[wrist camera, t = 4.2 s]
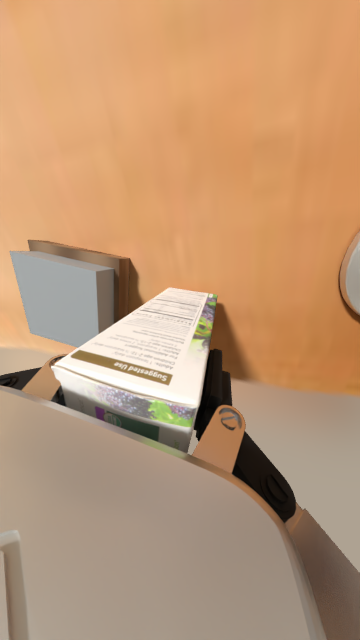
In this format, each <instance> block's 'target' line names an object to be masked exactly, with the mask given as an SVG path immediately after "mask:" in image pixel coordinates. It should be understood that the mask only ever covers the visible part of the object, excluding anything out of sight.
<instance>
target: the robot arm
mask: <svg viewBox="0 0 360 640" xmlns="http://www.w3.org/2000/svg"><path fill="white" fill-rule="evenodd" d="M340 289H341V292H342V295H343V298H344V300H345V301H346V303H347V304H348V306H349V307H350V308H351V309H352V310H353V311H354V312H355V313H357V314H358V315H360V231H359V232H358V233H357V235H356V236H355V238H354V240H353V241H352V243H351V244H350V246H349V248H348V250H347V252H346V254H345V257H344V259H343V262H342V266H341V271H340ZM67 355H68V354H62V355H58V356H55V357H53V358H51V359H50V360H49V361H47V362H46V363H45V365H44V366H43V367H40V368H36V369H30V370H25V371H20V372H15V373H10V374H5V375H1V376H0V640H360V573H359V572H358V571H357V569H356V568H355V567H354V566H353V565H352V564H351V562H350V561H349V560H348V559H347V558H346V556H345V555H344V554H343V553H342V552H341V550H340V549H339V548H338V547H337V546H336V545H335V543H334V542H333V541H332V540H331V539H330V537H329V536H328V535H327V534H326V533H325V531H324V530H323V529H322V528H321V527H320V526H319V524H318V523H317V522H316V521H315V520H314V518H313V517H312V516H311V515H310V514H309V513H308V511H307V510H306V509H304V510H302V509H301V507H300V506H299V505H298V504H297V503H296V500H295V497H294V493H293V491H292V489H291V487H290V485H289V484H288V482H287V481H286V480H285V478H284V477H283V476H282V475H281V473H280V472H279V471H278V470H277V469H276V467H275V466H274V465H273V464H272V463H271V462H270V460H269V459H268V458H267V457H266V456H265V454H264V453H263V452H262V451H261V450H260V448H259V447H258V446H257V445H256V444H255V443H254V441H253V440H252V439H251V438H250V437H249V435H248V434H247V433H246V432H245V425H246V424H245V420H244V418H243V416H242V415H241V413H240V412H239V411H238V410H237V409H235V408H234V407H232V397H231V381H230V373H228V372H225V371H222V351H221V350H217V349H214V350H210V353H209V356H208V360H207V365H206V371H205V377H204V384H203V390H202V396H201V401H200V406H199V408H198V411H197V415H196V419H195V423H194V430H196V431H197V432H196V437H197V438H198V441H199V443H198V445H197V446H196V448H195V450H194V452H193V454H192V455H189V454H187V453H184V452H182V451H180V450H177V449H175V448H172V447H169V446H167V445H164V444H162V443H159V442H157V441H154V440H151V439H149V438H146V437H144V436H141V435H139V434H136V433H133V432H131V431H128V430H126V429H123V428H120V427H118V426H115V425H112V424H110V423H107V422H105V421H102V420H99V419H97V418H94V417H91V416H89V415H86V414H83V413H81V412H78V411H76V410H73V409H70V408H67V407H66V404H65V399H64V394H63V390H62V386H61V383H60V381H59V380H57V379H56V378H55V374H54V371H53V370H52V369H51V366H54V365H55V363H57V362H58V361H59V360H61V359H62V358H64V357H65V356H67Z"/></svg>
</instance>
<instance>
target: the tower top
mask: <svg viewBox="0 0 360 640" xmlns="http://www.w3.org/2000/svg"><path fill="white" fill-rule="evenodd" d="M10 255H11V259H12V263H13V266H14V270H15V274H16V278H17V282H18V286H19V290H20V294H21V298H22V302H23V306H24V310H25V314H26V318H27V321H28V325H29V329H30V333H32V334H35V335H38V336H41V337H45V338H48V339H51V340H55V341H58V342H61V343H65V344H68V345H71V346H75V347H78V348H79V347H80V346H82V345H83V344H85V343H86V342H88V341H89V340H91V339H92V338H94V337H95V336H97V335H98V334H100V333H101V332H103V331H105V330H106V329H107V328H109V327H111V326H112V325H114V269H113V268H109V267H105V266H100V265H96V264H92V263H87V262H83V261H78V260H74V259H70V258H65V257H61V256H57V255H52V254H48V253H44V252H39V251H10Z"/></svg>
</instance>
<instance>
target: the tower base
mask: <svg viewBox="0 0 360 640" xmlns="http://www.w3.org/2000/svg"><path fill="white" fill-rule="evenodd" d="M28 244H29V249H30V251H39V252H44V253H48V254H52V255H57V256H61V257H65V258H70V259H74V260H78V261H83V262H87V263H92V264H96V265H100V266H105V267H109V268H113V269H114V324H115V323H117V322H118V321H120V320H121V319H122V318H124V317H126V316H127V315H128V295H129V266H130V258H126V257H121V256H116V255H111V254H107V253H102V252H97V251H92V250H87V249H83V248H78V247H73V246H68V245H63V244H59V243H54V242H49V241H39V240H28Z"/></svg>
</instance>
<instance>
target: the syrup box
mask: <svg viewBox="0 0 360 640" xmlns="http://www.w3.org/2000/svg"><path fill="white" fill-rule="evenodd" d="M216 302H217V295H215V294H209V293H202V292H195V291H189V290H183V289H177V288H168V289H166V290H165V291H163V292H162V293H160V294H159V295H157V296H156V297H154V298H153V299H151V300H150V301H148V302H146V303H145V304H144V305H142V306H141V307H139V308H138V309H136V310H135V311H133V312H132V313H130V314H129V315H127V316H126V317H124V318H122V319H121V320H120V321H118V322H117V323H115V324H114V325H112V326H111V327H109V328H107V329H106V330H105V331H103V332H101V333H100V334H98V335H97V336H95V337H94V338H92V339H91V340H89V341H88V342H86V343H85V344H83V345H82V346H80V347H79V348H77V349H76V350H74V351H73V352H71V353H70V354H68V355H67V356H65V357H64V358H62V359H61V360H59V361H58V362H57V363H55V365H54V366H51V369H52V370H53V371H54V374H55V378H56V379H57V380H59V381H60V383H61V386H62V390H63V394H64V399H65V404H66V407H67V408H70V409H73V410H76V411H78V412H81V413H83V414H86V415H89V416H91V417H94V418H97V419H99V420H102V421H105V422H107V423H110V424H112V425H115V426H118V427H120V428H123V429H126V430H128V431H131V432H133V433H136V434H139V435H141V436H144V437H146V438H149V439H151V440H154V441H157V442H159V443H162V444H164V445H167V446H169V447H172V448H175V449H177V450H180V451H182V452H184V453H187V452H188V447H189V444H190V440H191V436H192V431H193V427H194V423H195V419H196V415H197V411H198V408H199V406H200V401H201V396H202V390H203V384H204V377H205V371H206V365H207V359H208V353H209V347H210V342H211V335H212V329H213V322H214V316H215V309H216Z"/></svg>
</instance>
